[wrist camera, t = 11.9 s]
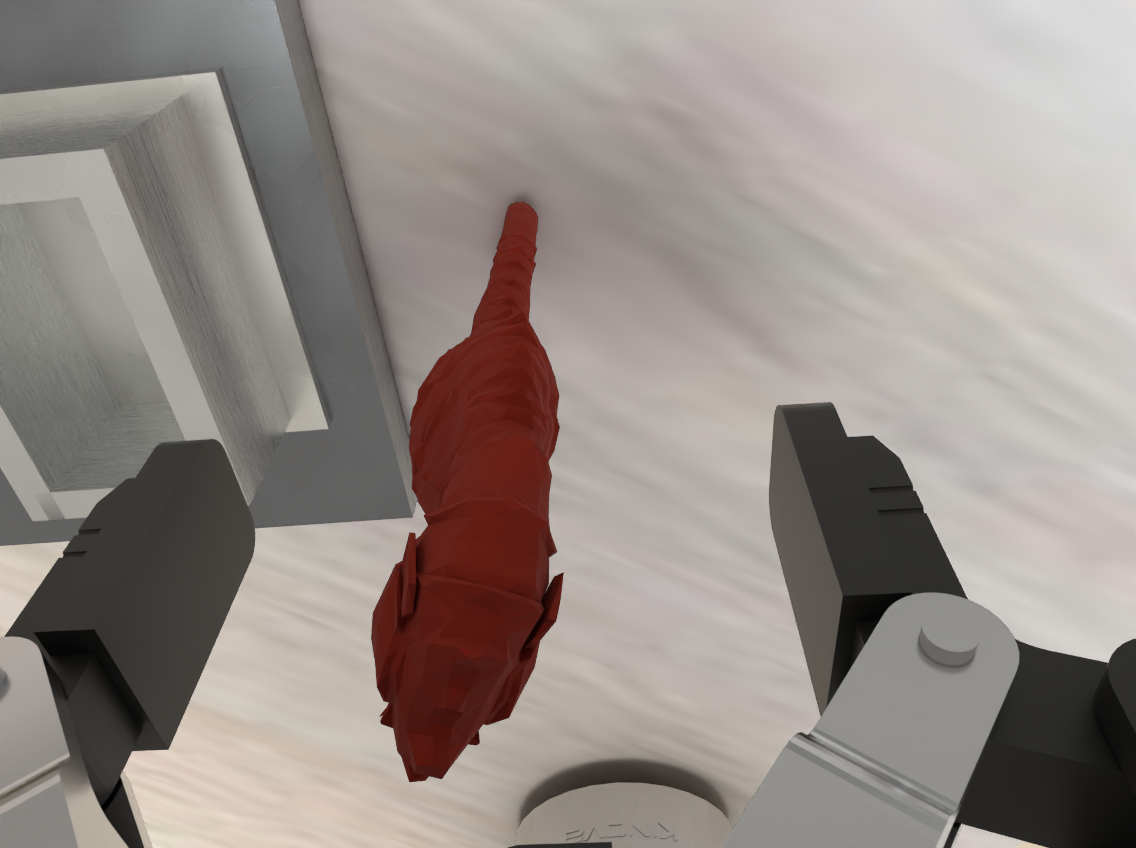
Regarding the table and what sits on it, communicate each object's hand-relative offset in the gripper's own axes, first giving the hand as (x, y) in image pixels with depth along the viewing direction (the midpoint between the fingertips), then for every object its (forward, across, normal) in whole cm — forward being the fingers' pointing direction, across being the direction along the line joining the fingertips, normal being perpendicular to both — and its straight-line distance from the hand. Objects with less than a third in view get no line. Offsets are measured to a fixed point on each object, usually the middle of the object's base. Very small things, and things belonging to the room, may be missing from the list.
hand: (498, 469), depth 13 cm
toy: (+11, 0, 0) cm, 11 cm away
